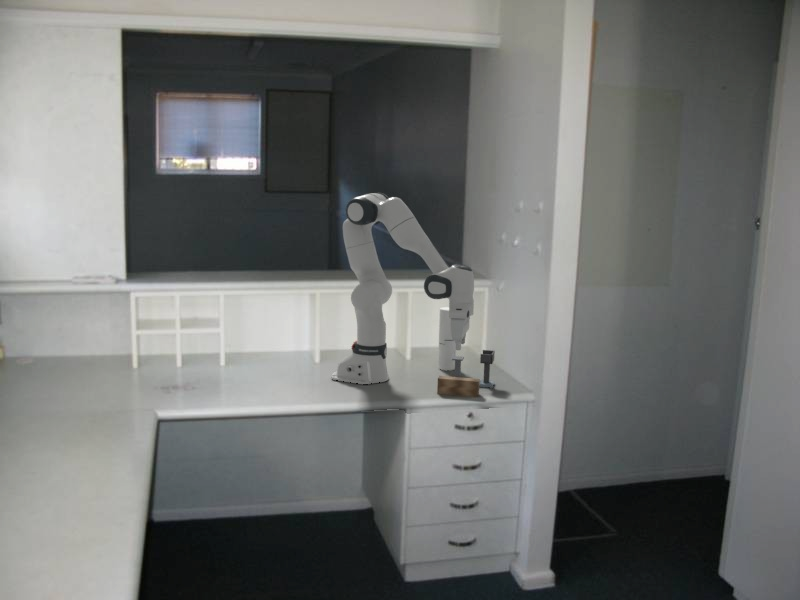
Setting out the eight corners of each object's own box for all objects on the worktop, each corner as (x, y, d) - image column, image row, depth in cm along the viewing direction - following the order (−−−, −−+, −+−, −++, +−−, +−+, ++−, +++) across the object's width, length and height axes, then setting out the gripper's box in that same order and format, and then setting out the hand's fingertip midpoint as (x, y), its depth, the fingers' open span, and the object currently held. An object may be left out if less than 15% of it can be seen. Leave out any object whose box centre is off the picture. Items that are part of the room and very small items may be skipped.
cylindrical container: (454, 371, 326) (456, 310, 321) (436, 369, 327) (438, 309, 322) (456, 366, 333) (458, 307, 328) (439, 365, 334) (441, 306, 329)
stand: (445, 384, 307) (446, 351, 304) (448, 379, 313) (449, 347, 311) (492, 388, 303) (493, 355, 300) (494, 383, 309) (495, 350, 307)
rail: (437, 394, 295) (437, 378, 294) (438, 391, 298) (439, 375, 297) (477, 397, 292) (478, 381, 291) (478, 394, 295) (479, 379, 294)
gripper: (457, 304, 300) (456, 340, 302) (448, 314, 280) (447, 352, 283) (473, 304, 299) (472, 341, 301) (465, 315, 279) (465, 353, 281)
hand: (460, 346), depth 292 cm, fingers open, 8 cm apart
